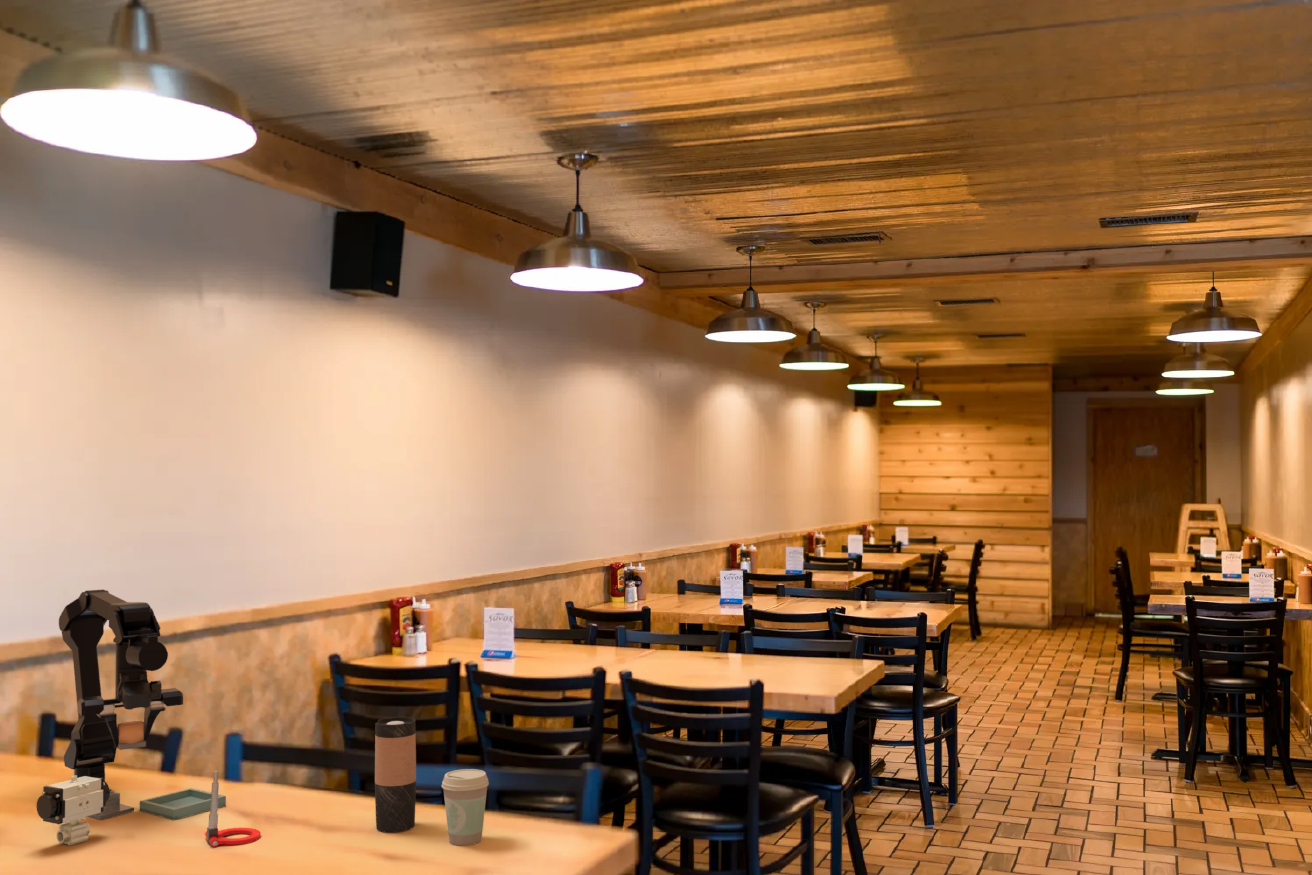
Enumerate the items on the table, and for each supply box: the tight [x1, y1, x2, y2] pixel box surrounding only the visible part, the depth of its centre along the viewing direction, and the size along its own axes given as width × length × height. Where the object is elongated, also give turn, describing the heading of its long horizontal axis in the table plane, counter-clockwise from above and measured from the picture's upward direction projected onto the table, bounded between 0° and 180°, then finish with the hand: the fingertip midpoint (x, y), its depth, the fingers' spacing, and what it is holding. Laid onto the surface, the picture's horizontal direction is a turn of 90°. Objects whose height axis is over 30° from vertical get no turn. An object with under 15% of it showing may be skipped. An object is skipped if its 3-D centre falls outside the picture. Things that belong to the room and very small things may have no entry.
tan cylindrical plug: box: [117, 720, 147, 751], centre depth 229 cm, size 5×5×4 cm
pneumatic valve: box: [36, 775, 110, 846], centre depth 210 cm, size 6×12×12 cm, turn 152°
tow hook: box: [204, 770, 262, 848], centre depth 211 cm, size 8×13×9 cm
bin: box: [139, 787, 227, 821], centre depth 231 cm, size 12×12×2 cm
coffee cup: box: [441, 768, 490, 846], centre depth 209 cm, size 8×9×12 cm
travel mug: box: [374, 716, 417, 834], centre depth 218 cm, size 8×8×20 cm
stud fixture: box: [87, 790, 135, 821], centre depth 228 cm, size 7×7×4 cm
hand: (130, 744), depth 229 cm, fingers closed on tan cylindrical plug, 5 cm apart
